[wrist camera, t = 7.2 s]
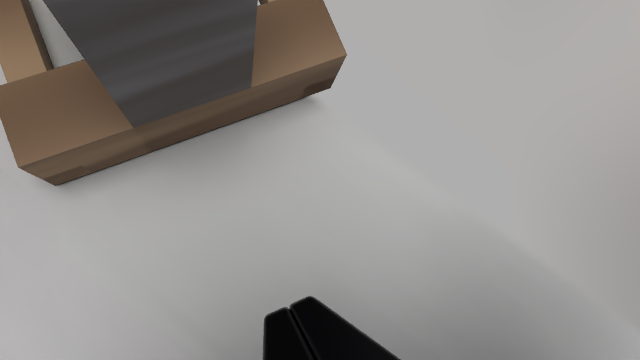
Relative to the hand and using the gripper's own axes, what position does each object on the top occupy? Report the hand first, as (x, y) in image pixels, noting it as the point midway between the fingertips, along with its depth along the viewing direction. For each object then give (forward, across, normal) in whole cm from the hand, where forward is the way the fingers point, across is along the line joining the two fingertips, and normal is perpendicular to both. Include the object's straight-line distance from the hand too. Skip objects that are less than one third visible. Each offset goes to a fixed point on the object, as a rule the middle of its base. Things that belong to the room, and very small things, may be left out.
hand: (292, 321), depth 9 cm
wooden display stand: (+15, 0, -2) cm, 15 cm away
